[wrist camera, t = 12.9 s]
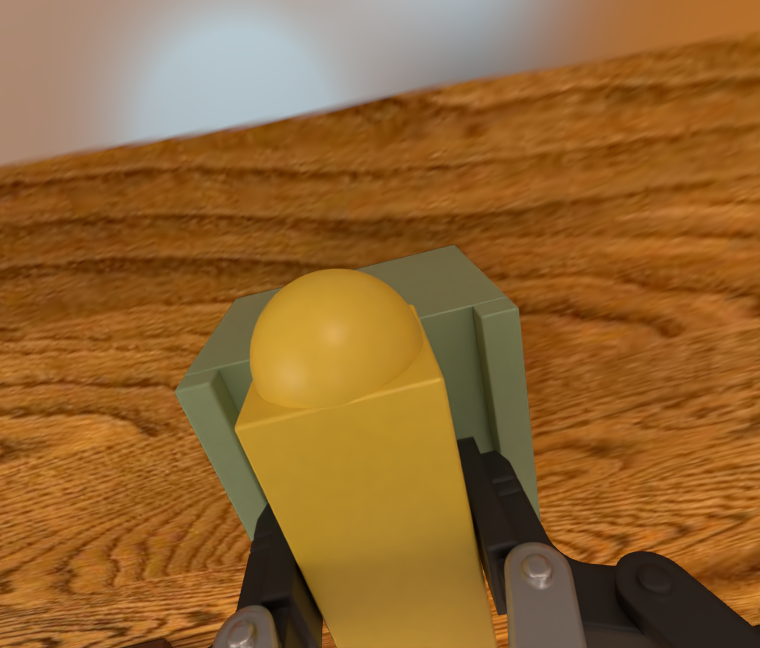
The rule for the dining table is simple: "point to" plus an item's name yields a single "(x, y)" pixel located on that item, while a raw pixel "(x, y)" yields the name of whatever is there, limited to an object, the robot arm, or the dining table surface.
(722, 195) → the dining table surface
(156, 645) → the block
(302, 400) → the yellow ball-topped peg
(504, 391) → the block
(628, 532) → the dining table surface
